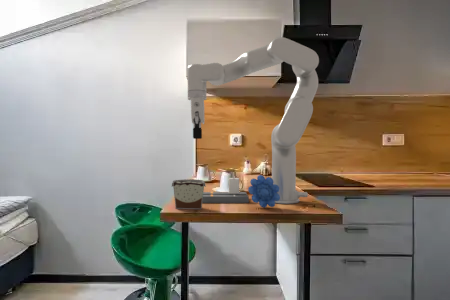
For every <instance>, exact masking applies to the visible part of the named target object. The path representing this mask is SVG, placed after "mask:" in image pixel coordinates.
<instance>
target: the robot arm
mask: <svg viewBox="0 0 450 300" xmlns="http://www.w3.org/2000/svg"><path fill="white" fill-rule="evenodd" d="M283 62H285V63H286V64H288V65H291V68H292V71H293V73H294V74H295V77H296V84H295V87H294V89H293V91H292V93H291V95H290V98H289V100H288V101H287V103H286V105H285V106H284V114H283V116H282V119H281V121H280V122H279V123H278V124H277V125H276V126H274V128H273V129H272V131H271V136H270V137H271V178H272V179H273V181H274V183H273V184H276V185H278V186H279V192H277V193H278V194H279V195H280V200H279V201H275V204H282V205H284V204H285V205H286V204H287V205H288V204H297V203H299V202H300V198H308V192H307V191H298V190H297V189H296V187H297V186H296V181H297V180H296V179H297V175H296V173H297V172H296V171H297V151H296V150H297V149H296V145H297V144H298V143H299V142H300V140H301V138H302V136H303V135H304V134H305V130H306V128H307V127H308V124H309V123H310V120H311V118H312V115H313V113H314V112H313V111H314V106H313V103H312V102H313V101H314V98H315V96H316V93H317V90H318V88H319V77H318V74H317V71H316V68H317V67H318V66H319V63H320V58H319V55H318V54H317V52H316V51H315V50H313V49H311V48H310V47H307V46H305V45H303V44H301V43H299V42H296V41H294V40H291V39H290V38H286V37H284V36H281V37H280V36H279V37H275V38H274V39H272V40H271V42H270V43H269V44H266V45H264V46H260V47H258V48H255V49H251V50H249V51H246V52H244V53H243V54H241V55H240V56H239V57H238V58H237V59H235V60H233V61H231V62H229V63H226V64H223V65H222V64H221V63H218V62H211V63H205V64H202V63H192V64H190V65H188V66H187V69H186V71H187V101H188V100H189V101H190V115H191V123H192V125H193V128H192V138H193V139H194V140H195V139H197V140H198V139H200V140H201V139H203V137H202V135H203V132H202V130H203V129H202V125H204V124H205V101H206V100H207V82H208V83H210V84H211V85H212V86H221V85H224V84H227V83H231V82H233V81H236V80H239V79H241V78H244V77H246V76H249V75H251V74H253V73H254V74H255V73H257V72H259V71H262V70H265V69H268V68H271V67H274V66H277V65H280V64H282V63H283Z"/></svg>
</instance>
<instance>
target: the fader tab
mask: <svg viewBox="0 0 450 300" xmlns="http://www.w3.org/2000/svg"><path fill="white" fill-rule="evenodd" d="M228 192H229V194H231V195H236V194H239V192H240V178H239V177H228Z"/></svg>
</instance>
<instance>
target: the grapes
mask: <svg viewBox="0 0 450 300" xmlns="http://www.w3.org/2000/svg"><path fill="white" fill-rule="evenodd" d="M273 183H274V181H273V179H272V177H270V176H269V177H266V178H265V176H264V175H262V174H259V175H257V177H256V178H251V179H250V186H249V187H248V190H247V191H248V193H249V194H250V195H251V200H252V202H253V203H256V204H259V206H260V207H261V208H264V209H265V208H266V207H271V208H273V207H276V203H275V201H279V200H280V195H279V194H278V193H277V192H279V186H278V185H276V184H273Z"/></svg>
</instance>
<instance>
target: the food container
mask: <svg viewBox="0 0 450 300" xmlns="http://www.w3.org/2000/svg"><path fill="white" fill-rule="evenodd" d="M171 187H173V196H174V207H175V210H177V209H179V210H183V209H184V210H202V208H203V203H202V200H203V192H204V190H205V189H204V188H206V187H207V186H206V182H205V180H203V179H189V178H187V179H175V180H173V181H172V183H171Z"/></svg>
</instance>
